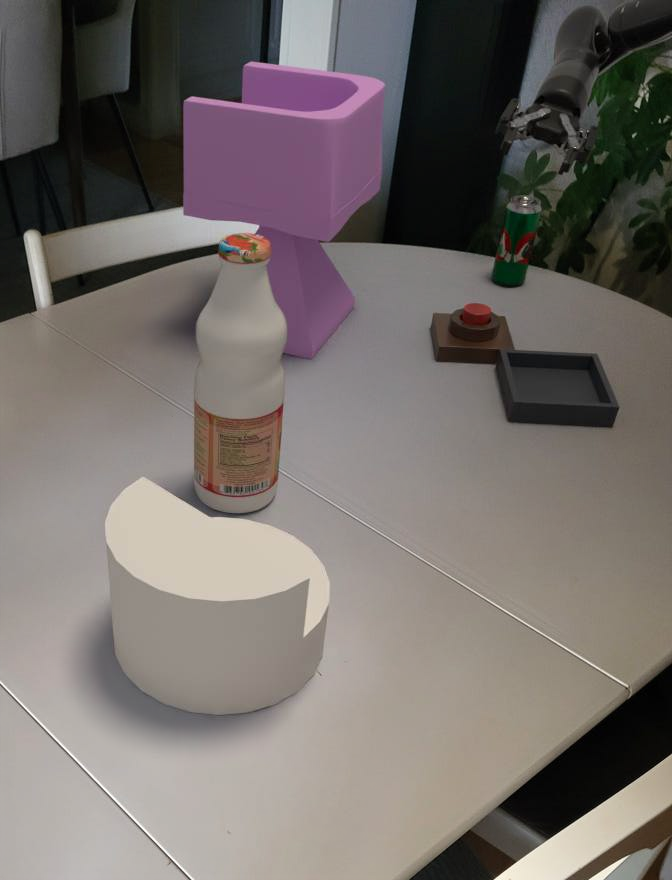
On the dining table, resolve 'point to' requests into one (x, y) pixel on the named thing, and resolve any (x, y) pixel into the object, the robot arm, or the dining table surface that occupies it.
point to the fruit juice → (239, 382)
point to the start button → (476, 314)
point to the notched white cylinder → (211, 604)
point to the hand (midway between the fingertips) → (534, 159)
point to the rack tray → (555, 388)
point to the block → (469, 338)
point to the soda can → (516, 240)
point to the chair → (289, 179)
